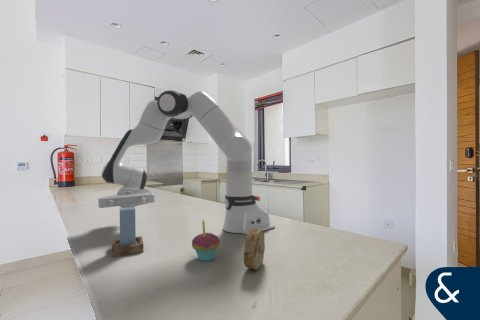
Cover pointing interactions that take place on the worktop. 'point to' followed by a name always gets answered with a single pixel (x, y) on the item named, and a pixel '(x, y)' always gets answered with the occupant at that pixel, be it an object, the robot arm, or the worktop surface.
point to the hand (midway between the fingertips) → (128, 202)
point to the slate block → (127, 226)
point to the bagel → (254, 249)
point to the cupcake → (205, 245)
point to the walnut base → (126, 247)
